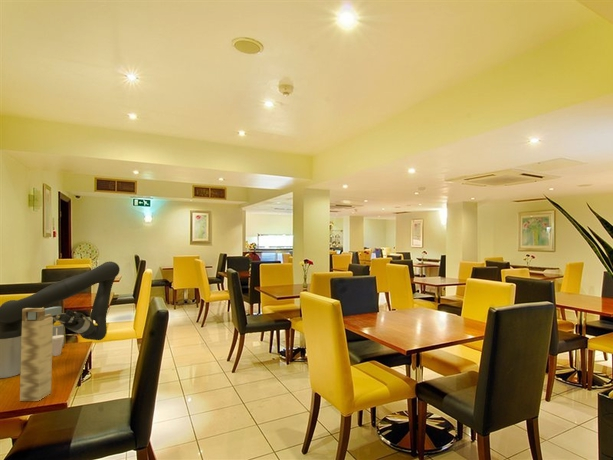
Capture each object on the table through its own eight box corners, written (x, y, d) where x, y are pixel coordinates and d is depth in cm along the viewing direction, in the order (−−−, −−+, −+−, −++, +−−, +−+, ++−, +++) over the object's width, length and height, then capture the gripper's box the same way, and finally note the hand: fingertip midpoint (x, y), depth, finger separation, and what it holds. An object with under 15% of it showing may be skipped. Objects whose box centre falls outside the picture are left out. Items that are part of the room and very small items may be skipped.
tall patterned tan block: (19, 401, 128) (22, 309, 129) (32, 393, 134) (35, 305, 135) (38, 401, 128) (41, 309, 129) (51, 393, 135) (53, 305, 136)
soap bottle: (58, 350, 187) (59, 317, 188) (45, 350, 187) (46, 317, 187) (67, 346, 194) (68, 315, 194) (55, 346, 194) (55, 315, 194)
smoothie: (61, 352, 184) (62, 326, 184) (65, 354, 180) (66, 328, 180) (47, 355, 179) (48, 328, 180) (50, 357, 175) (51, 330, 175)
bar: (27, 319, 129) (28, 311, 129) (54, 313, 143) (54, 306, 144) (35, 319, 129) (36, 311, 129) (61, 313, 143) (61, 306, 144)
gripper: (64, 315, 158) (42, 303, 144) (95, 314, 159) (77, 303, 145) (58, 331, 154) (35, 320, 140) (90, 331, 155) (70, 320, 141)
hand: (56, 311), depth 143 cm, fingers open, 8 cm apart
